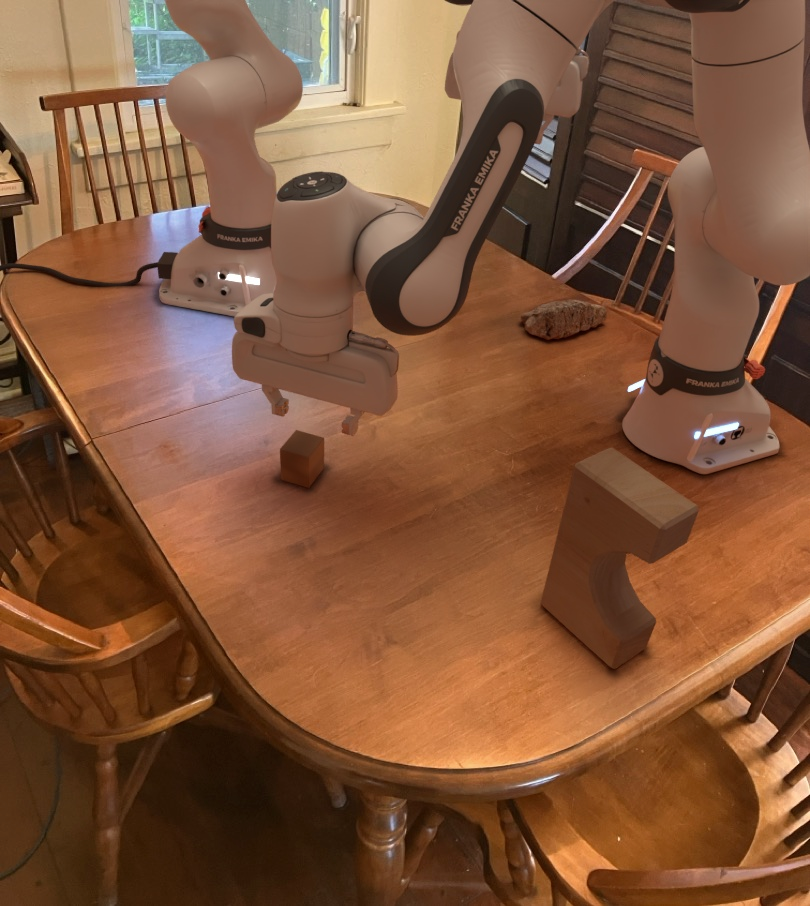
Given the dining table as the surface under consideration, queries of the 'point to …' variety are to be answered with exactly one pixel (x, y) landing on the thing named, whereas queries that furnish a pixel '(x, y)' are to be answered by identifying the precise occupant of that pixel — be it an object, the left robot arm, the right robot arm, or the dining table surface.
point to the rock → (563, 318)
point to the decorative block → (612, 552)
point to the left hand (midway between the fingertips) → (505, 137)
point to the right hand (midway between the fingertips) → (314, 422)
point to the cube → (302, 458)
